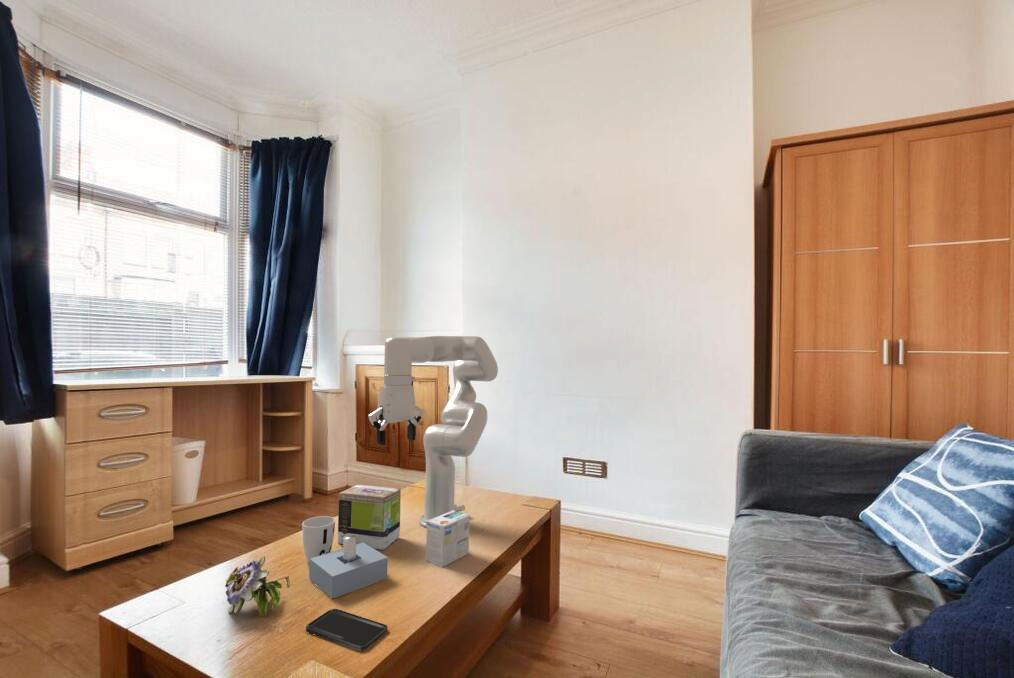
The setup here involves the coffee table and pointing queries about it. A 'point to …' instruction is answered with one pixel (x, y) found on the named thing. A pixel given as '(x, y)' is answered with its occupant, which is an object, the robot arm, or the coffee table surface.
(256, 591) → the passion flower
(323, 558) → the hole block
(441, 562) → the light bulb box
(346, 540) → the pin
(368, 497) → the tea box
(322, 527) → the cup
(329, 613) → the phone
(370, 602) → the coffee table surface
